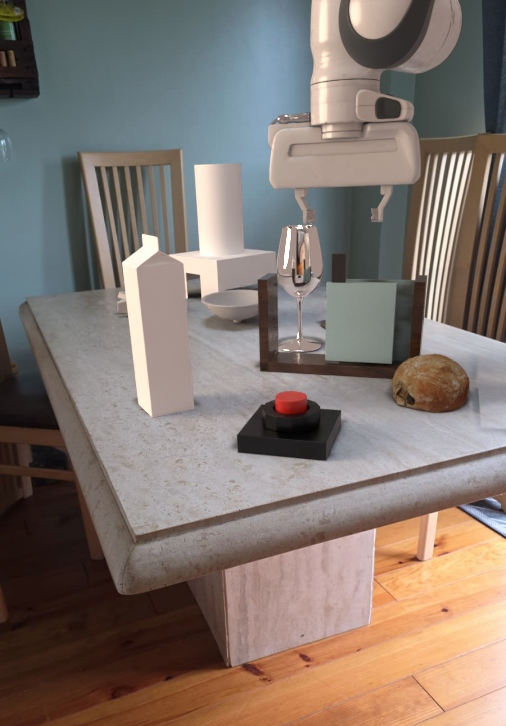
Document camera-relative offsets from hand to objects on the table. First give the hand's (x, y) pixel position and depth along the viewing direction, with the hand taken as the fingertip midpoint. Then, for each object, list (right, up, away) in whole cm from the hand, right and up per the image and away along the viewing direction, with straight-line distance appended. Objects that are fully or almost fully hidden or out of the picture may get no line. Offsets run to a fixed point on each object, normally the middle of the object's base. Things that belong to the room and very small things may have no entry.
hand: (342, 222), depth 86 cm
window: (+3, -18, +7) cm, 20 cm away
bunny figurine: (-38, -1, +54) cm, 66 cm away
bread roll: (+11, -25, -3) cm, 28 cm away
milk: (-24, -26, -3) cm, 36 cm away
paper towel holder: (-20, +8, +71) cm, 74 cm away
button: (-8, -27, -16) cm, 32 cm away
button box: (-8, -30, -14) cm, 34 cm away
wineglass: (-4, -14, +23) cm, 27 cm away
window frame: (+1, -19, +10) cm, 22 cm away
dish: (-16, -5, +42) cm, 46 cm away
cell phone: (+8, -7, +36) cm, 37 cm away
